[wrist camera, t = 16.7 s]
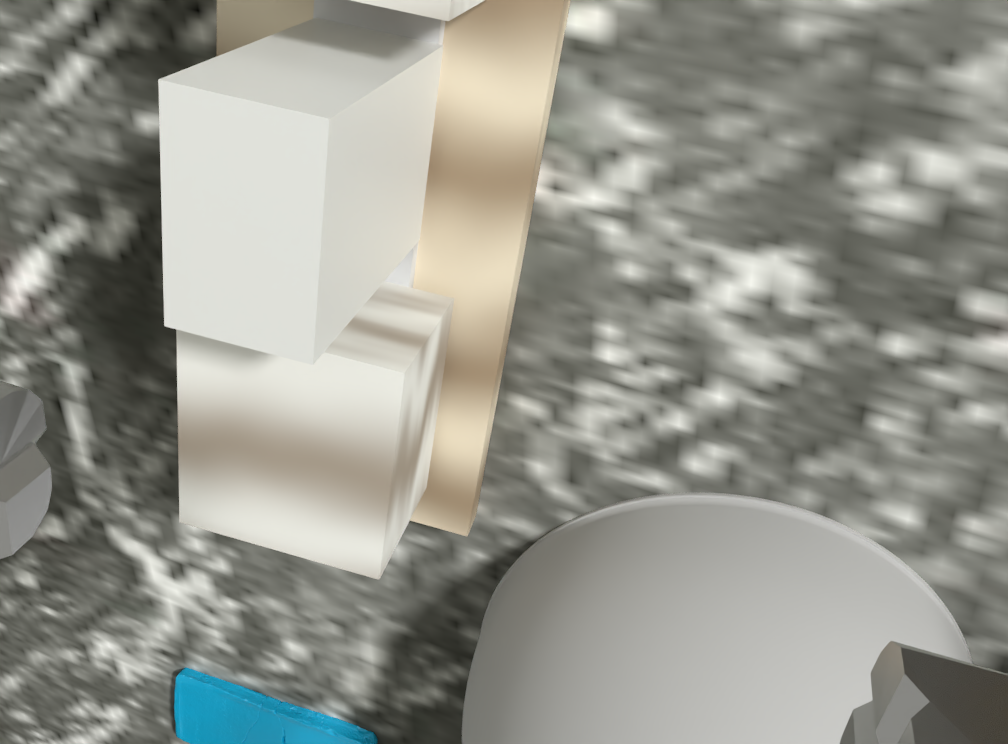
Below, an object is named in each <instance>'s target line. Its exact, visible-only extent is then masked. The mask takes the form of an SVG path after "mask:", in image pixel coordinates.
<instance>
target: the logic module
mask: <svg viewBox="0 0 1008 744" xmlns="http://www.w3.org/2000/svg"><path fill="white" fill-rule="evenodd" d="M443 46H444V45H440V44H435V43H430V42H426V41H421V40H416V39H412V38H407V37H403V36H398V35H393V34H389V33H384V32H380V31H375V30H370V29H366V28H361V27H357V26H352V25H347V24H343V23H338V22H334V21H329V20H324V19H320V18H314V19H311V20H308V21H306V22H303V23H301V24H298V25H296V26H293V27H291V28H288V29H286V30H283V31H280V32H278V33H275V34H273V35H270V36H268V37H265V38H263V39H260V40H258V41H255V42H252V43H250V44H247V45H245V46H242V47H240V48H237V49H235V50H232V51H230V52H227V53H225V54H222V55H219V56H217V57H214V58H212V59H209V60H207V61H204V62H202V63H199V64H197V65H194V66H191V67H189V68H186V69H184V70H181V71H179V72H176V73H174V74H171V75H169V76H166V77H163V78H161V79H158V84H159V126H160V168H161V210H162V253H163V295H164V326H165V327H169V328H173V329H177V330H181V331H184V332H188V333H192V334H196V335H200V336H204V337H207V338H211V339H215V340H219V341H223V342H226V343H230V344H234V345H238V346H242V347H246V348H249V349H253V350H257V351H261V352H265V353H269V354H272V355H276V356H280V357H284V358H288V359H291V360H295V361H299V362H303V363H307V364H311V365H313V364H314V363H315V362H316V361H317V360H318V359H319V357H320V356H321V355H322V354H323V353H324V352H325V350H326V349H327V348H328V347H329V346H330V344H331V343H332V342H333V341H334V340H335V339H336V337H337V336H338V335H339V334H340V333H341V332H342V330H343V329H344V328H345V327H346V326H347V324H348V323H349V322H350V321H351V320H352V319H353V317H354V316H355V315H356V314H357V313H358V312H359V310H360V309H361V308H362V307H363V306H364V305H365V303H366V302H367V301H368V300H369V299H370V297H371V296H372V295H373V294H374V293H375V292H376V290H377V289H378V288H379V287H380V286H381V285H382V283H383V282H384V281H385V280H386V279H387V277H388V276H389V275H390V274H391V273H392V272H393V270H394V269H395V268H396V267H397V266H398V265H399V263H400V262H401V261H402V260H403V259H404V258H405V256H406V255H407V254H408V253H409V252H410V250H411V249H412V248H413V247H414V246H415V245H416V243H417V242H418V241H419V240H420V233H421V225H422V217H423V209H424V200H425V192H426V184H427V176H428V168H429V160H430V152H431V143H432V135H433V127H434V119H435V111H436V103H437V95H438V86H439V78H440V70H441V62H442V54H443Z"/></svg>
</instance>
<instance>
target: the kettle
mask: <svg viewBox="0 0 1008 744" xmlns="http://www.w3.org/2000/svg"><path fill="white" fill-rule="evenodd" d="M890 641H894V642H898V643H901V644H905V645H908V646H912V647H915V648H919V649H922V650H926V651H929V652H933V653H936V654H940V655H943V656H947V657H950V658H954V659H958V660H961V661H965V662H968V663H972V664H973V661H972V658H971V655H970V651H969V649H968V646H967V643H966V641H965V639H964V636H963V634H962V632H961V630H960V628H959V626H958V625H957V623H956V621H955V619H954V618H953V616H952V614H951V613H950V611H949V610H948V609H947V607H946V606H945V604H944V603H943V602H942V600H941V599H940V598H939V597H938V595H937V594H936V593H935V592H934V591H933V589H932V588H931V587H930V586H929V585H928V584H927V583H926V582H925V581H924V580H923V579H922V578H921V577H920V576H919V575H918V574H917V573H916V572H915V571H914V570H913V569H911V568H910V567H909V566H908V565H907V564H905V563H904V562H903V561H902V560H900V559H899V558H898V557H897V556H895V555H894V554H893V553H891V552H890V551H888V550H887V549H885V548H884V547H882V546H881V545H879V544H878V543H876V542H874V541H873V540H871V539H870V538H868V537H866V536H864V535H862V534H861V533H859V532H857V531H855V530H853V529H851V528H849V527H847V526H845V525H843V524H841V523H838V522H836V521H834V520H832V519H829V518H827V517H824V516H822V515H819V514H816V513H813V512H810V511H808V510H804V509H801V508H798V507H795V506H791V505H787V504H784V503H780V502H775V501H771V500H766V499H761V498H756V497H749V496H742V495H733V494H722V493H672V494H661V495H653V496H646V497H641V498H635V499H631V500H626V501H622V502H618V503H615V504H611V505H608V506H605V507H601V508H598V509H596V510H593V511H590V512H588V513H585V514H583V515H581V516H578V517H576V518H574V519H572V520H570V521H568V522H566V523H564V524H563V525H561V526H559V527H557V528H556V529H554V530H552V531H551V532H549V533H548V534H546V535H545V536H543V537H542V538H541V539H539V540H538V541H537V542H535V543H534V544H533V545H532V546H531V547H529V548H528V549H527V550H526V551H525V552H524V553H523V554H522V555H521V556H520V557H519V558H518V559H517V560H516V561H515V562H514V563H513V564H512V566H511V567H510V568H509V569H508V571H507V572H506V573H505V575H504V576H503V578H502V579H501V580H500V582H499V584H498V585H497V587H496V589H495V591H494V593H493V595H492V597H491V599H490V601H489V604H488V607H487V609H486V612H485V615H484V619H483V622H482V626H481V631H480V636H479V640H478V643H477V646H476V650H475V653H474V657H473V661H472V664H471V669H470V673H469V678H468V682H467V688H466V693H465V700H464V708H463V720H462V744H840V740H841V737H842V734H843V732H844V730H845V727H846V725H847V723H848V720H849V718H850V716H851V713H852V711H853V709H855V708H857V707H860V706H862V705H864V704H866V703H868V702H870V701H872V700H873V698H872V686H871V675H870V673H871V671H872V669H873V667H874V665H875V663H876V661H877V659H878V657H879V655H880V653H881V651H882V650H883V649H884V648H885V647H886V646H887V644H888V643H889V642H890Z"/></svg>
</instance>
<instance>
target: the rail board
mask: <svg viewBox="0 0 1008 744" xmlns="http://www.w3.org/2000/svg"><path fill="white" fill-rule="evenodd" d="M569 6H570V0H217V56H219V55H222V54H225V53H227V52H230V51H232V50H235V49H237V48H240V47H242V46H245V45H247V44H250V43H252V42H255V41H258V40H260V39H263V38H265V37H268V36H270V35H273V34H275V33H278V32H280V31H283V30H286V29H288V28H291V27H293V26H296V25H298V24H301V23H303V22H306V21H308V20H311V19H314V18H320V19H324V20H329V21H334V22H338V23H343V24H347V25H352V26H357V27H361V28H366V29H370V30H375V31H380V32H384V33H389V34H393V35H398V36H403V37H407V38H412V39H416V40H421V41H426V42H430V43H435V44H440V45H444V46H443V54H442V62H441V70H440V78H439V86H438V95H437V103H436V111H435V119H434V127H433V135H432V143H431V152H430V160H429V168H428V176H427V184H426V192H425V200H424V209H423V217H422V225H421V233H420V240H419V241H418V242H417V243H416V245H415V246H414V247H413V248H412V249H411V250H410V252H409V253H408V254H407V255H406V256H405V258H404V259H403V260H402V261H401V262H400V263H399V265H398V266H397V267H396V268H395V269H394V270H393V272H392V273H391V274H390V275H389V276H388V277H387V279H386V280H385V281H384V282H383V283H382V285H381V286H380V287H379V288H378V289H377V290H376V292H375V293H374V294H373V295H372V296H371V297H370V299H369V300H368V301H367V302H366V303H365V305H364V306H363V307H362V308H361V309H360V310H359V312H358V313H357V314H356V315H355V316H354V317H353V319H352V320H351V321H350V322H349V323H348V324H347V326H346V327H345V328H344V329H343V330H342V332H341V333H340V334H339V335H338V336H337V337H336V339H335V340H334V341H333V342H332V343H331V344H330V346H329V347H328V348H327V349H326V350H325V352H324V353H323V354H322V355H321V356H320V357H319V359H318V360H317V361H316V362H315V363H314V364H313V365H311V364H307V363H303V362H299V361H295V360H291V359H288V358H284V357H280V356H276V355H272V354H269V353H265V352H261V351H257V350H253V349H249V348H246V347H242V346H238V345H234V344H230V343H226V342H223V341H219V340H215V339H211V338H207V337H204V336H200V335H196V334H192V333H188V332H184V331H181V330H177V329H176V339H177V400H178V462H179V522H180V523H183V524H187V525H190V526H194V527H197V528H201V529H204V530H207V531H211V532H214V533H218V534H221V535H225V536H228V537H232V538H235V539H239V540H242V541H246V542H249V543H253V544H256V545H260V546H263V547H267V548H270V549H274V550H277V551H281V552H284V553H288V554H291V555H295V556H298V557H302V558H305V559H309V560H312V561H316V562H319V563H323V564H326V565H330V566H333V567H337V568H340V569H343V570H347V571H350V572H354V573H357V574H361V575H364V576H368V577H371V578H375V579H378V580H379V579H380V577H381V575H382V573H383V571H384V569H385V568H386V566H387V564H388V562H389V560H390V558H391V556H392V554H393V552H394V550H395V548H396V546H397V544H398V542H399V540H400V538H401V536H402V534H403V532H404V530H405V529H406V527H407V525H408V523H409V521H414V522H417V523H421V524H424V525H428V526H432V527H435V528H439V529H442V530H446V531H450V532H453V533H457V534H460V535H464V536H468V534H469V531H470V529H471V527H472V524H473V522H474V519H475V517H476V513H477V507H478V502H479V496H480V491H481V485H482V480H483V474H484V469H485V463H486V458H487V453H488V447H489V442H490V436H491V431H492V425H493V420H494V414H495V409H496V404H497V398H498V393H499V387H500V382H501V376H502V371H503V365H504V360H505V355H506V349H507V344H508V338H509V333H510V327H511V322H512V316H513V311H514V305H515V300H516V295H517V289H518V284H519V278H520V273H521V267H522V262H523V256H524V251H525V246H526V240H527V235H528V229H529V224H530V218H531V213H532V207H533V202H534V197H535V191H536V186H537V180H538V175H539V169H540V164H541V158H542V153H543V147H544V142H545V137H546V131H547V126H548V120H549V115H550V109H551V104H552V98H553V93H554V88H555V82H556V77H557V71H558V66H559V60H560V55H561V49H562V44H563V39H564V33H565V28H566V22H567V17H568V11H569Z"/></svg>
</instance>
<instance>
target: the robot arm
mask: <svg viewBox="0 0 1008 744" xmlns="http://www.w3.org/2000/svg"><path fill="white" fill-rule="evenodd" d="M46 429H47V428H46V422H45V415H44V409H43V402H42V400H41V399H40V398H39V397H37V396H36V395H35V394H34V393H32V392H31V391H30V390H28V389H25V388H22V387H19V386H15V385H12V384H9V383H6V382H3V381H0V559H2V558H5V557H8V556H11V555H13V554H14V553H15V552H16V551H17V550H18V549H19V548H20V547H22V546H23V545H24V544H25V543H26V542H27V541H28V540H29V539H30V538H31V537H32V536H33V535H34V533H35V531H36V530H37V528H38V526H39V524H40V523H41V521H42V519H43V517H44V515H45V514H46V512H47V510H48V506H49V501H50V495H51V490H52V480H51V468H50V465H49V464H48V462H47V461H46V459H45V458H44V456H43V455H42V453H41V452H40V450H39V449H38V448H37V446H36V445H35V443H36V441H37V440H38V439H39V438H40V437H41V435H42V434H43V433H44V432H45V430H46ZM870 675H871V686H872V698H873V700H872V701H870V702H868V703H866V704H864V705H862V706H860V707H857V708H855V709H853V711H852V713H851V716H850V718H849V720H848V723H847V725H846V727H845V730H844V732H843V734H842V737H841V740H840V744H1008V674H1007V673H1003V672H1000V671H996V670H993V669H989V668H986V667H982V666H979V665H975V664H972V663H968V662H965V661H961V660H958V659H954V658H950V657H947V656H943V655H940V654H936V653H933V652H929V651H926V650H922V649H919V648H915V647H912V646H908V645H905V644H901V643H898V642H894V641H890V642H889V643H888V644H887V646H886V647H885V648H884V649H883V650H882V651H881V653H880V655H879V657H878V659H877V661H876V663H875V665H874V667H873V669H872V671H871V673H870Z"/></svg>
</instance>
